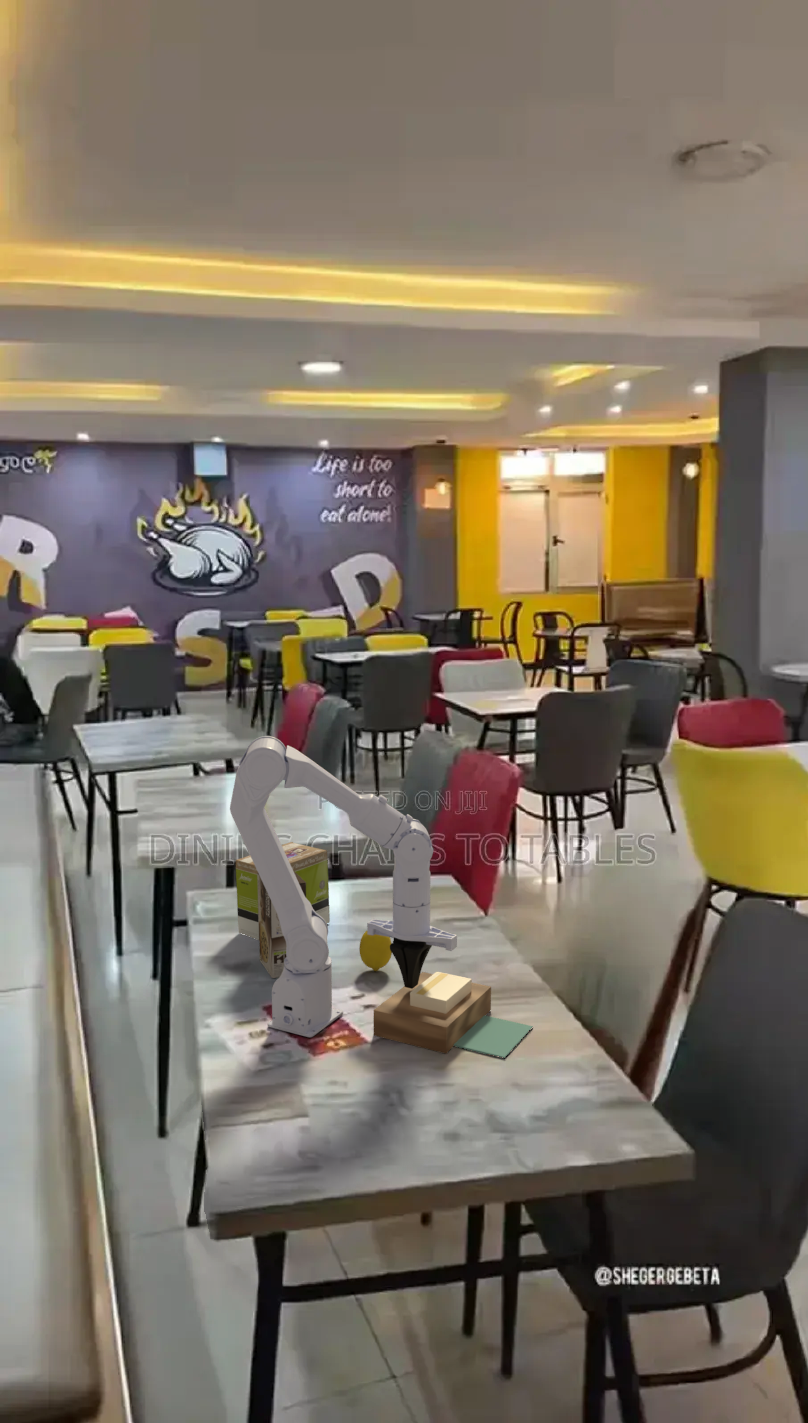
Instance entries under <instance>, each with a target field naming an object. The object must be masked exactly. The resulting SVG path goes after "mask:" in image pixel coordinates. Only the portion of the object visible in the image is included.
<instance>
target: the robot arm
mask: <svg viewBox="0 0 808 1423" xmlns="http://www.w3.org/2000/svg"><path fill="white" fill-rule="evenodd" d="M234 778H235V779H234V783H233V784H234V785H233V790H232V796H231V799H230V805H229V806H230V807H229V811H230V814H231V817H232V819H233V821H234V824H235V825H236V828H237V830H238V832H239V834H240V837H241V838H242V841H243V843H244V844H245V847H246V849H247V851H248V853H249V856H251V858H252V860H253V862H254V865H255V867H256V869H257V871H258V873H259V875H260V878H261V880H262V882H263V884H264V886H265V888H266V891H267V893H268V895H269V897H270V899H271V901H272V904H273V906H274V908H275V910H276V912H277V914H278V917H279V921H280V925H281V930H282V933H283V936H284V938H285V940H286V946H287V947H286V958H285V959H284V969H283V972H282V974H281V976H280V977H278V978H276V980H275V981H274V983H273V985H272V988H271V1017H272V1018H271V1019H272V1020H271V1021H269V1022H268V1023H267V1027H268V1028H272V1029H275V1030H279V1031H283V1032H286V1033H291V1034H295V1035H299V1036H303V1037H307V1038H313V1037H314V1036H315V1035H317V1034H318V1033H320V1032H321V1031H322V1030H323V1029H324V1028H326V1027H328V1026H329V1025H330V1024H332V1023H333V1022H334V1021H335V1020H337V1019H338V1018H340V1017H341V1016H342V1015H344V1011H343V1010H342V1009H337V1008H333V995H332V994H333V989H332V988H333V985H332V984H333V981H332V980H333V978H332V974H333V973H332V972H333V968H332V963H333V962H332V957H330V956H329V953H330V951H329V944H328V937H329V936H328V935H329V927H328V923H326V922H325V920H324V919H323V918H322V917H321V916H320V915H318V914H317V913H316V912H315V911H314V909H313V908H312V905H311V903H310V902H309V901H308V900H307V898H306V897H305V896H304V893H303V891H302V889H301V887H300V885H299V882H298V880H297V878H296V876H295V874H294V871H293V869H292V867H291V865H290V863H289V860H288V858H287V856H286V854H285V852H284V849H283V847H282V845H283V844H282V843H281V841H280V839H279V837H278V834H277V832H276V830H275V828H274V825H273V823H272V821H271V819H270V817H269V815H268V812H267V810H266V808H265V806H266V804H267V803H268V800H269V797H270V795H271V793H273V792H274V790H276V789H277V787H279V785H280V784H281V783H282V782H283V781H284V786H283V788H284V789H291V788H301V787H302V788H306V789H308V790H309V791H311V792H312V793H313V794H316V795H317V796H319V797H321V798H322V799H324V800H326V801H327V802H328V803H331V804H332V805H333V806H335V807H337V808H338V809H340V810H342V811H343V812H345V813H346V814H348V819H349V824H350V826H351V827H353V828H354V829H355V830H357V831H359V832H360V833H362V834H363V835H365V836H366V837H367V838H369V839H371V840H372V841H373V842H375V843H376V844H378V845H379V846H381V847H382V848H384V849H388V850H391V851H393V855H394V858H393V860H394V869H393V871H392V920H384V919H377V918H376V919H375V918H373V919H371V920H369V921H367V926H366V927H367V929H366V931H367V934H368V935H375V934H377V935H382V936H387V937H390V938H393V940H392V942H391V943H392V944H391V945H390V951H391V952H392V955H393V958H395V961H396V963H397V965H398V967H399V970H400V974H401V978H402V982H403V985H404V986H405V987H407V988H411V989H413V988H414V987H415V986H417V985H418V981H419V977H420V974H421V973H422V970H423V969H422V968H423V966H424V962H425V961H426V959H427V956H428V954H429V952H430V950H431V948H432V947H439V948H443V949H445V951H449V952H452V951H454V950H455V949H456V948H457V947H458V934H454V933H450V932H448V931H445V930H442V929H439V928H437V927H435V926H432V925H431V875H432V874H431V871H430V868H431V867H430V866H431V861H430V860H431V859H432V857H433V854H434V847H433V844H432V840H431V837H430V834H429V832H428V830H427V827H425V826H424V824H423V823H421V821H420V820H419V819H415V818H414V817H413V816H411V815H410V814H408V813H407V814H406V815H404V814H403V813H402V812H400V811H399V810H397V809H396V808H394V807H392V806H391V805H390V804H388V799H387V797H385V796H384V795H382V794H379V795H378V796H376V795H375V794H374V793H367V794H358V793H357V792H356V791H354V790H353V789H352V788H351V787H349V786H347V785H346V784H345V783H344V782H343V781H341V780H339V779H338V778H337V777H335V776H334V775H333V774H332V773H330V772H329V771H327V770H326V769H324V767H322V766H321V765H319V764H317V762H315V761H313V760H312V759H311V758H310V757H308V756H306V755H305V754H303V753H302V752H301V751H299V750H297V749H296V748H295V747H292V746H291V745H286V746H285V744H284V743H283V742H282V741H281V740H280V739H278V738H277V737H274V736H270V735H263V736H259V737H257V738H255V739H254V740H252V741H251V742H250V743H249V744H248V746H247V748H246V749H245V752H244V753H243V755H242V756H241V758H240V760H239V764H238V768H237V770H236V773H235V777H234ZM404 986H403V987H404Z"/></svg>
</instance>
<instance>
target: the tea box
mask: <svg viewBox="0 0 808 1423" xmlns="http://www.w3.org/2000/svg"><path fill="white" fill-rule="evenodd" d="M281 845H282V847H283V849H284V852H285V854H286V856H287V858H288V860H289V863H290V865H291V867H292V869H293V870H294V871H295V872H296V873H297V874H298V875H299V876H300V877H301V878H302V879H303V880H304V881H305V882H306V898H307V900H308V901H309V902H310V903H311V905H312V908H313V909H314V911H315V912H316V913H317V914H318V915H320V916H321V917H322V918H323V919H324V920H325V922H326V923H327V924H328V923H330V921H331V920H330V919H331V918H330V917H331V916H330V914H331V913H330V888H329V885H330V884H329V865H328V862H329V861H328V860H329V859H328V858H329V857H328V849H327V850H326V849H323V848H322V849H321V848H318V847H313V846H308V845H304V844H300V843H295V842H293V841H290V842H288V843H284V844H281ZM257 873H258V871H257V869H256V867H255V865H254V862H253V860H252V858H251V856H250V855H247V856H244V857H241V858H237V859H235V878H236V880H235V881H236V882H235V883H236V903H237V904H236V907H237V926H238V933H239V934H240V933H242V934H245V935H247V936H250V937H252V938H251V939H253V938H255V939H254V940H256V939H257V941H259V921H258V882H257ZM242 934H241V935H242ZM245 935H244V936H245ZM247 936H246V937H247ZM250 937H249V938H250Z"/></svg>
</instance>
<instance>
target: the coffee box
mask: <svg viewBox="0 0 808 1423" xmlns="http://www.w3.org/2000/svg"><path fill="white" fill-rule="evenodd" d="M293 871H294V870H293ZM294 874H295V876H296V878H297V880H298V882H299V885H300V887H301V889H302V891H303V893H304V896H305V897H306V882H305V881H304V880H303V879H302V878H301V877H300V876H299V875H298V874H297V873H296V872H295V871H294ZM257 882H258V921H259V940H258V943H259V944H258V945H259V946H258V949H259V952H258V954H259V961H260V963H261V964H262V965H263V967H264V968H265V970H266V971H267V973H268V974H269V976H270V977H271V978H272V979H278V978H279V977H280V976H281V974H282V972H283V969H284V959H285V958H286V947H287V946H286V940H285V938H284V936H283V933H282V930H281V925H280V921H279V917H278V914H277V912H276V910H275V908H274V906H273V904H272V901H271V899H270V897H269V895H268V893H267V891H266V888H265V886H264V884H263V882H262V880H261V878H260V875H259V873H257Z"/></svg>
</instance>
